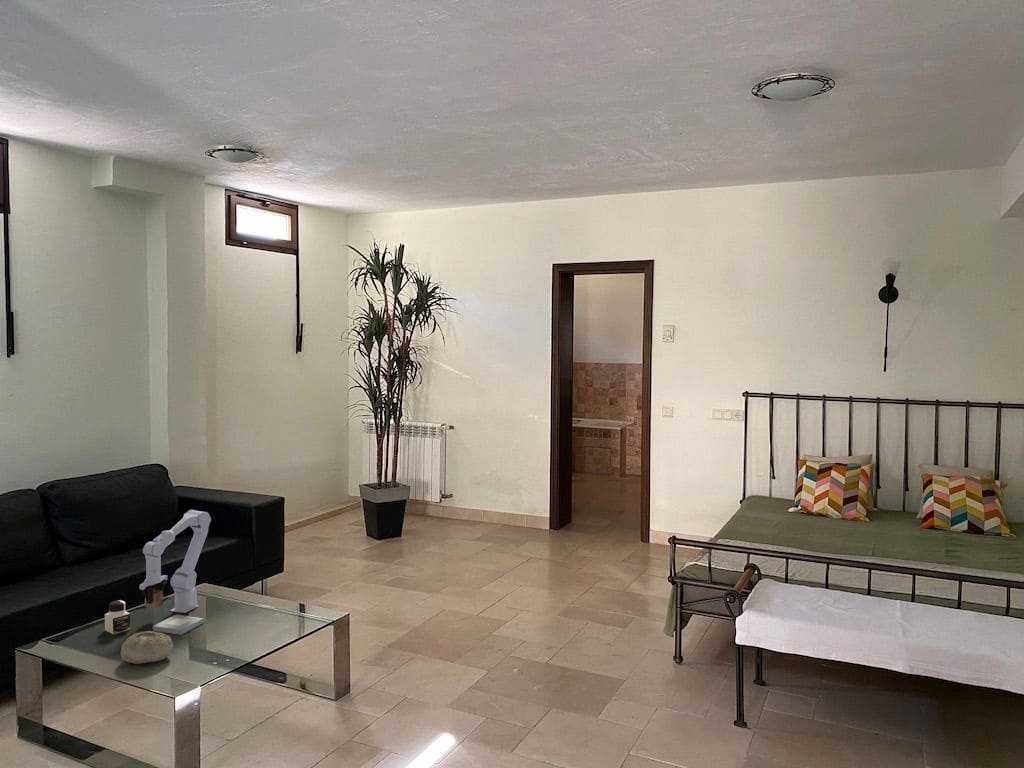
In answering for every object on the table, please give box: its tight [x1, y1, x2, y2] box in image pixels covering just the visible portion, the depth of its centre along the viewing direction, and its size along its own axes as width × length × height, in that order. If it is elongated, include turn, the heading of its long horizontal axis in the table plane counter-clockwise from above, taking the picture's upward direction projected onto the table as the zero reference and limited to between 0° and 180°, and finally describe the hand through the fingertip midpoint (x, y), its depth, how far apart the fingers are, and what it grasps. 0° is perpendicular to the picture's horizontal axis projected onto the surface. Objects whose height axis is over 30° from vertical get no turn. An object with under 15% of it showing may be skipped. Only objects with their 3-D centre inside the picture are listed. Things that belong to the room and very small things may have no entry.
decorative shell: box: [120, 630, 174, 665], centre depth 297 cm, size 18×18×10 cm
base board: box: [152, 614, 205, 636], centre depth 332 cm, size 14×14×2 cm
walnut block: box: [144, 589, 164, 609], centre depth 338 cm, size 5×5×6 cm
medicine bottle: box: [104, 599, 131, 635], centre depth 327 cm, size 7×7×12 cm
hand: (154, 601), depth 338 cm, fingers closed on walnut block, 5 cm apart
